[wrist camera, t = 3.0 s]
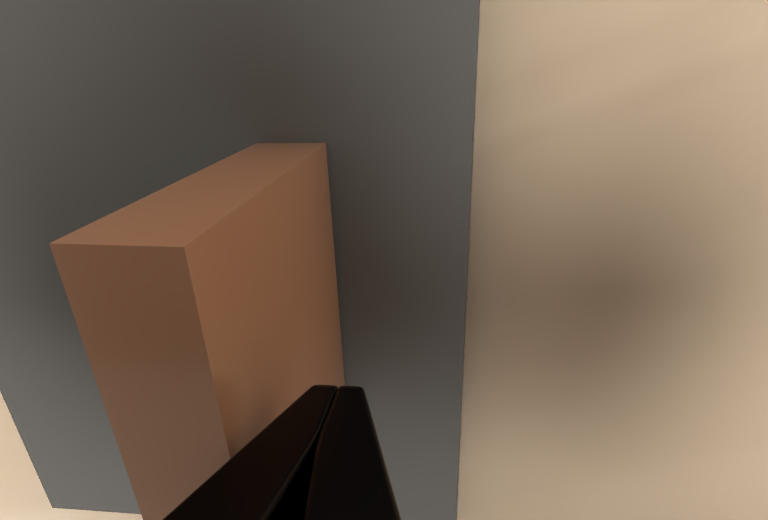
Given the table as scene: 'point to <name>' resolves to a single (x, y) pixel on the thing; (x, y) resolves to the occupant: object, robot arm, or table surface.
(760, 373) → the table surface
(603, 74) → the table surface
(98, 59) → the mat
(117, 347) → the tile
